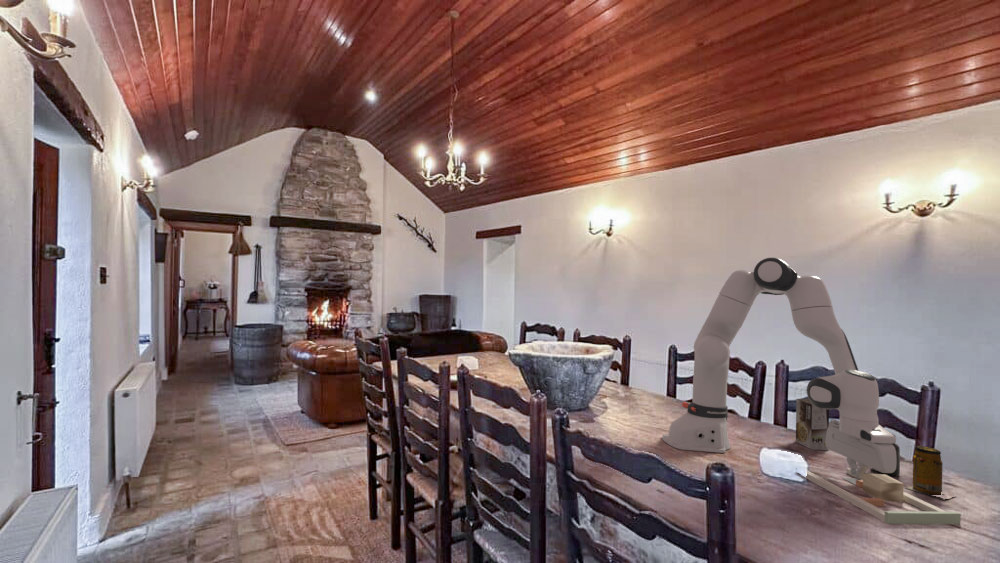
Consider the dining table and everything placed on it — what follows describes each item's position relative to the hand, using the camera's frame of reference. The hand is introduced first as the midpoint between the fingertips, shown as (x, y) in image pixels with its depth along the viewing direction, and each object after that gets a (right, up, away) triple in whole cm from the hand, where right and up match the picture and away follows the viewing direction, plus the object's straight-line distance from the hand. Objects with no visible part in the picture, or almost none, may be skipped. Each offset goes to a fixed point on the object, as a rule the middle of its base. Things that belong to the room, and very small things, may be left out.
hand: (857, 476), depth 131 cm
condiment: (+18, -3, -3) cm, 19 cm away
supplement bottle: (+17, -4, +11) cm, 20 cm away
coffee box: (+10, -4, +34) cm, 36 cm away
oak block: (+1, -3, -7) cm, 8 cm away
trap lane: (-3, -2, -7) cm, 8 cm away
